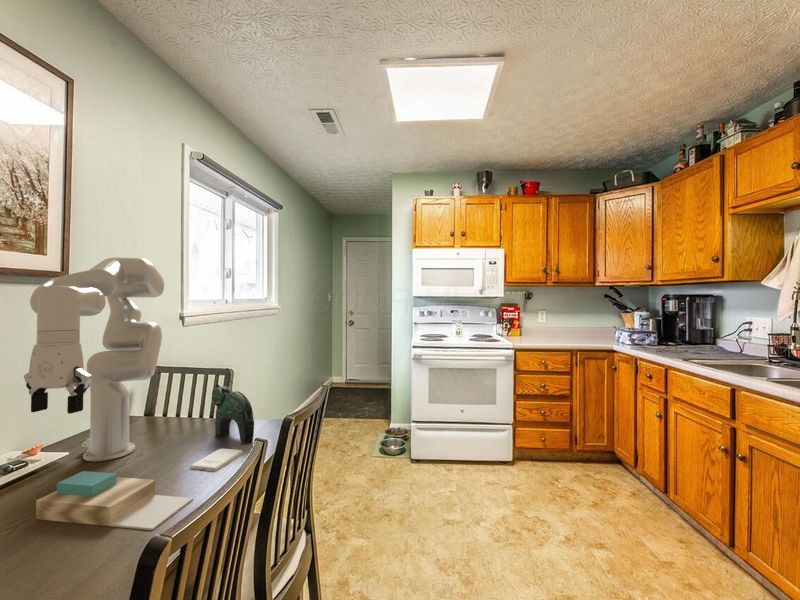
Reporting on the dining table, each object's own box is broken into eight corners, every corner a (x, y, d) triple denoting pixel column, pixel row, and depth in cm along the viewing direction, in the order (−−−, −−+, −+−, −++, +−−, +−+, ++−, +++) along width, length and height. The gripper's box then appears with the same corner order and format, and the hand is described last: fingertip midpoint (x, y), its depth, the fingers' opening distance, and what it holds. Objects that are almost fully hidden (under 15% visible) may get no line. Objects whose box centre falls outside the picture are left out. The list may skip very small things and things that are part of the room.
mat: (109, 526, 78) (109, 524, 78) (155, 496, 90) (155, 494, 90) (152, 530, 76) (152, 528, 76) (193, 499, 88) (193, 498, 88)
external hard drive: (242, 455, 116) (215, 473, 103) (219, 453, 117) (189, 470, 105) (242, 450, 116) (215, 467, 103) (219, 448, 117) (189, 464, 105)
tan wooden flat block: (36, 519, 80) (36, 500, 80) (89, 491, 92) (89, 475, 92) (109, 526, 78) (109, 506, 78) (155, 496, 90) (155, 479, 90)
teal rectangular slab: (56, 493, 83) (56, 483, 83) (83, 481, 89) (83, 471, 89) (92, 496, 82) (92, 485, 82) (116, 483, 88) (116, 473, 88)
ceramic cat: (209, 434, 132) (209, 378, 132) (226, 429, 137) (227, 375, 137) (242, 447, 121) (242, 385, 121) (259, 441, 126) (259, 381, 126)
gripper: (8, 339, 85) (7, 414, 85) (74, 339, 83) (73, 417, 83) (44, 336, 93) (42, 406, 92) (105, 337, 90) (104, 408, 90)
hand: (57, 411), depth 87 cm, fingers open, 9 cm apart
